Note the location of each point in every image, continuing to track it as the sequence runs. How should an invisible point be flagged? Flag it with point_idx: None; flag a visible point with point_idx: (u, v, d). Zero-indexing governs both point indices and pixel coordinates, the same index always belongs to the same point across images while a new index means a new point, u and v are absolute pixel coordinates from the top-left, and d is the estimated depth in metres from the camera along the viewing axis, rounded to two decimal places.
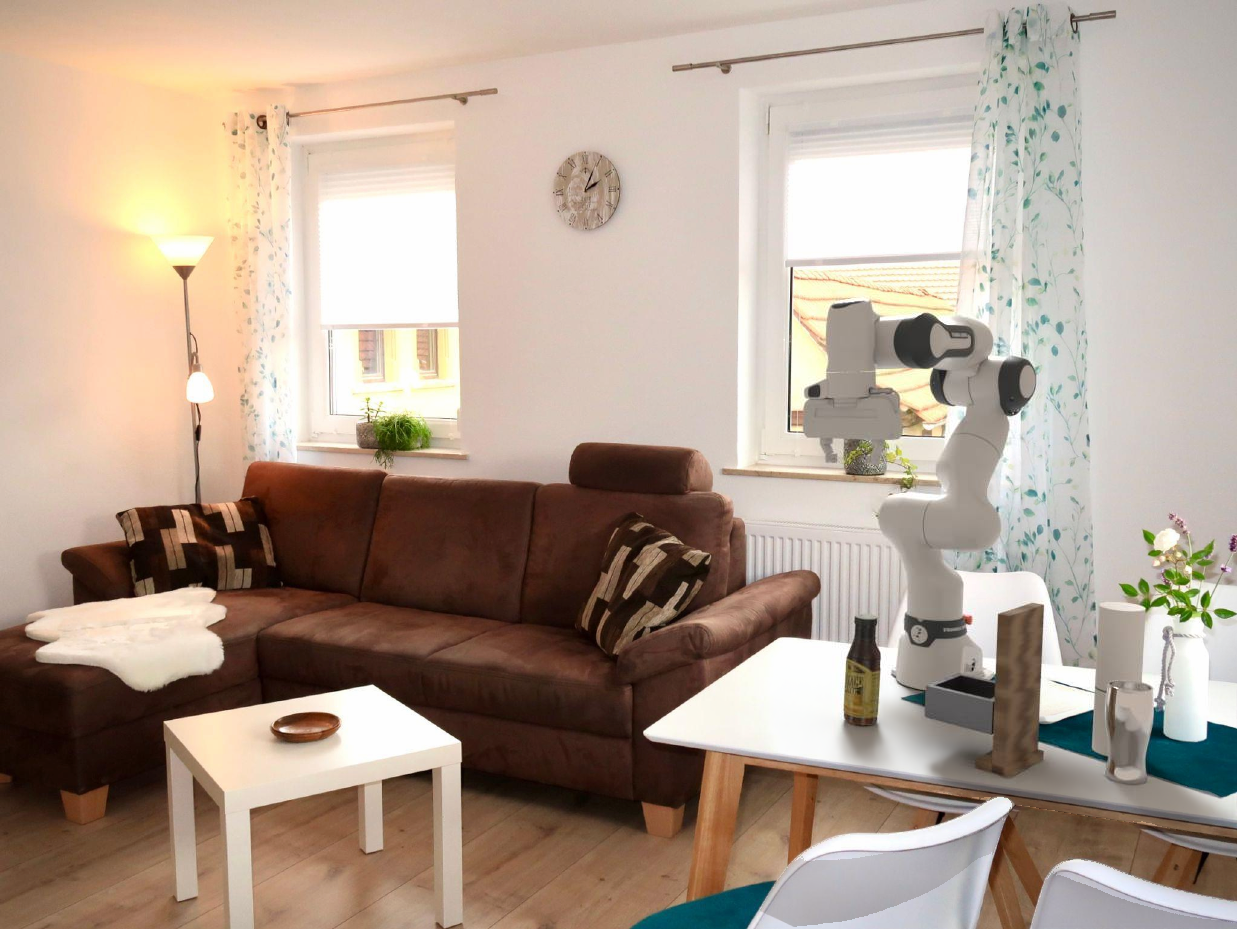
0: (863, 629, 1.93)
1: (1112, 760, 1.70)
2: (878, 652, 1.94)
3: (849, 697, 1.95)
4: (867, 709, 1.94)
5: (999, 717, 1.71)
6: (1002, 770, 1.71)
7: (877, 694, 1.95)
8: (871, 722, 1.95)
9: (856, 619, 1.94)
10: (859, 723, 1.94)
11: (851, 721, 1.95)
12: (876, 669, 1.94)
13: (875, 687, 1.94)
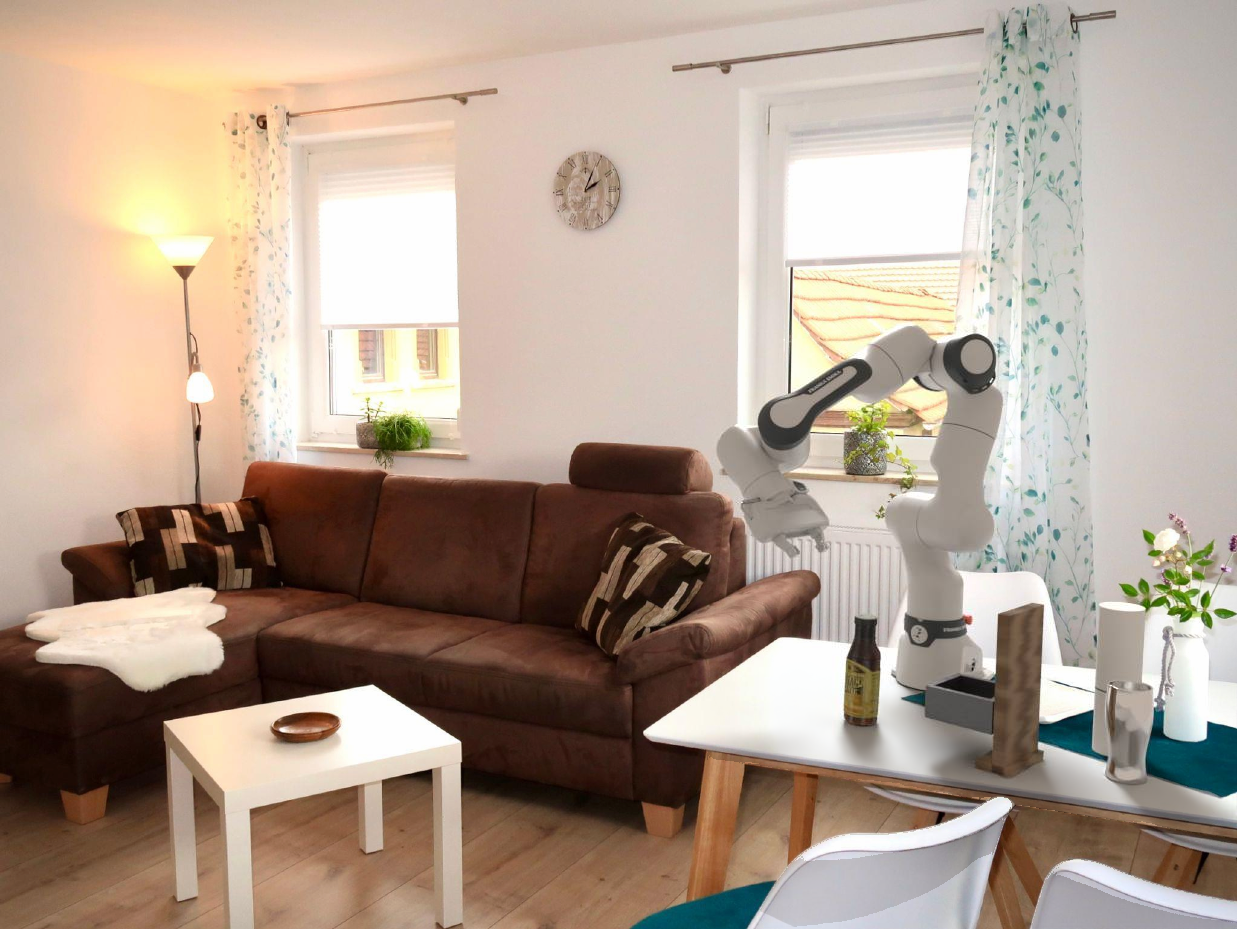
0: (863, 629, 1.93)
1: (1112, 760, 1.70)
2: (878, 652, 1.94)
3: (849, 697, 1.95)
4: (867, 709, 1.94)
5: (999, 717, 1.71)
6: (1002, 770, 1.71)
7: (877, 694, 1.95)
8: (871, 722, 1.95)
9: (856, 619, 1.94)
10: (859, 723, 1.94)
11: (851, 721, 1.95)
12: (876, 669, 1.94)
13: (875, 687, 1.94)
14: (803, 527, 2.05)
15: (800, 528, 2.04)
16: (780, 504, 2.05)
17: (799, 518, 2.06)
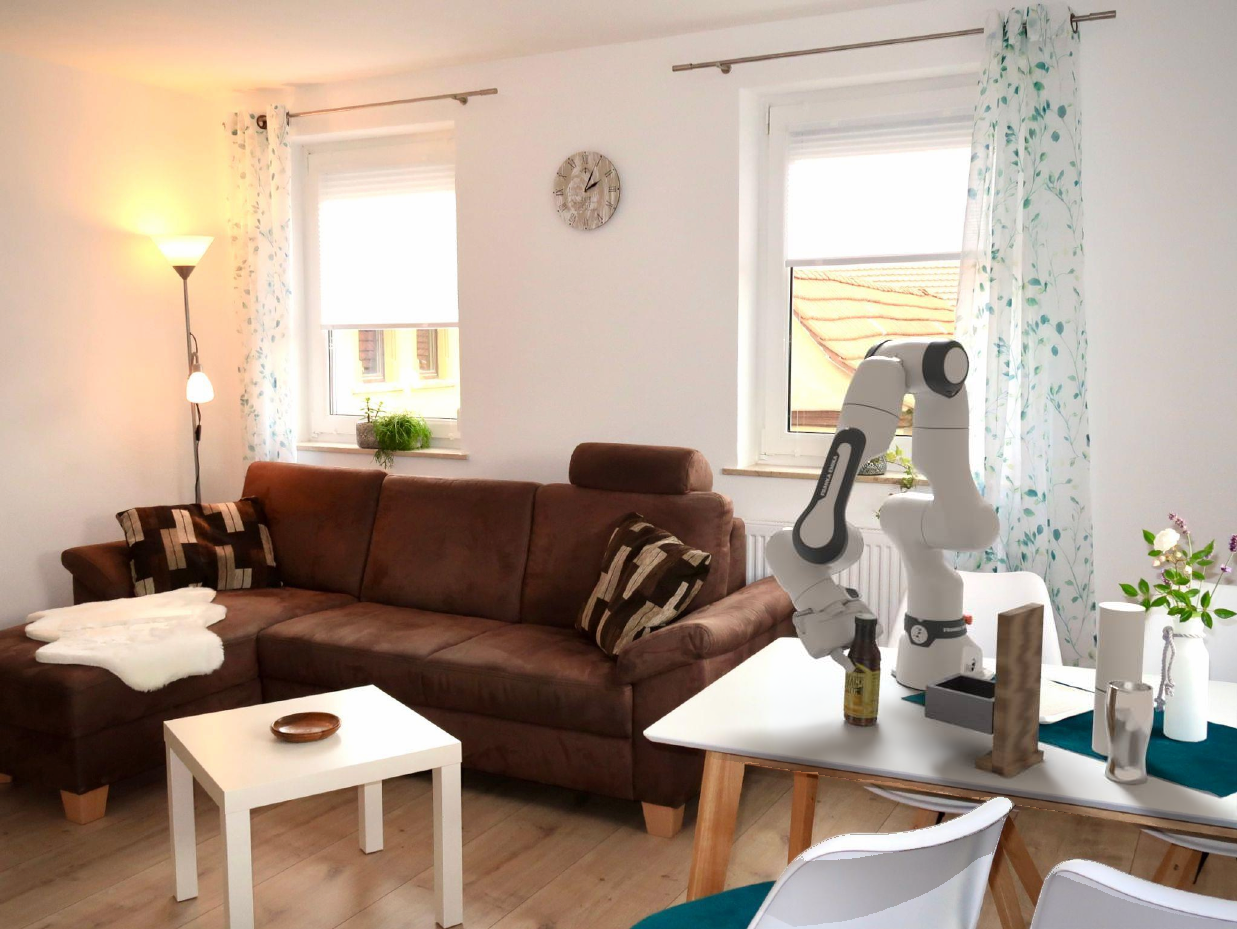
0: (863, 629, 1.93)
1: (1112, 760, 1.70)
2: (878, 652, 1.94)
3: (849, 697, 1.95)
4: (867, 709, 1.94)
5: (999, 717, 1.71)
6: (1002, 770, 1.71)
7: (877, 694, 1.95)
8: (871, 722, 1.95)
9: (856, 619, 1.94)
10: (859, 723, 1.94)
11: (851, 721, 1.95)
12: (876, 669, 1.94)
13: (876, 687, 1.94)
14: None
15: None
16: (833, 615, 1.98)
17: (853, 629, 1.99)
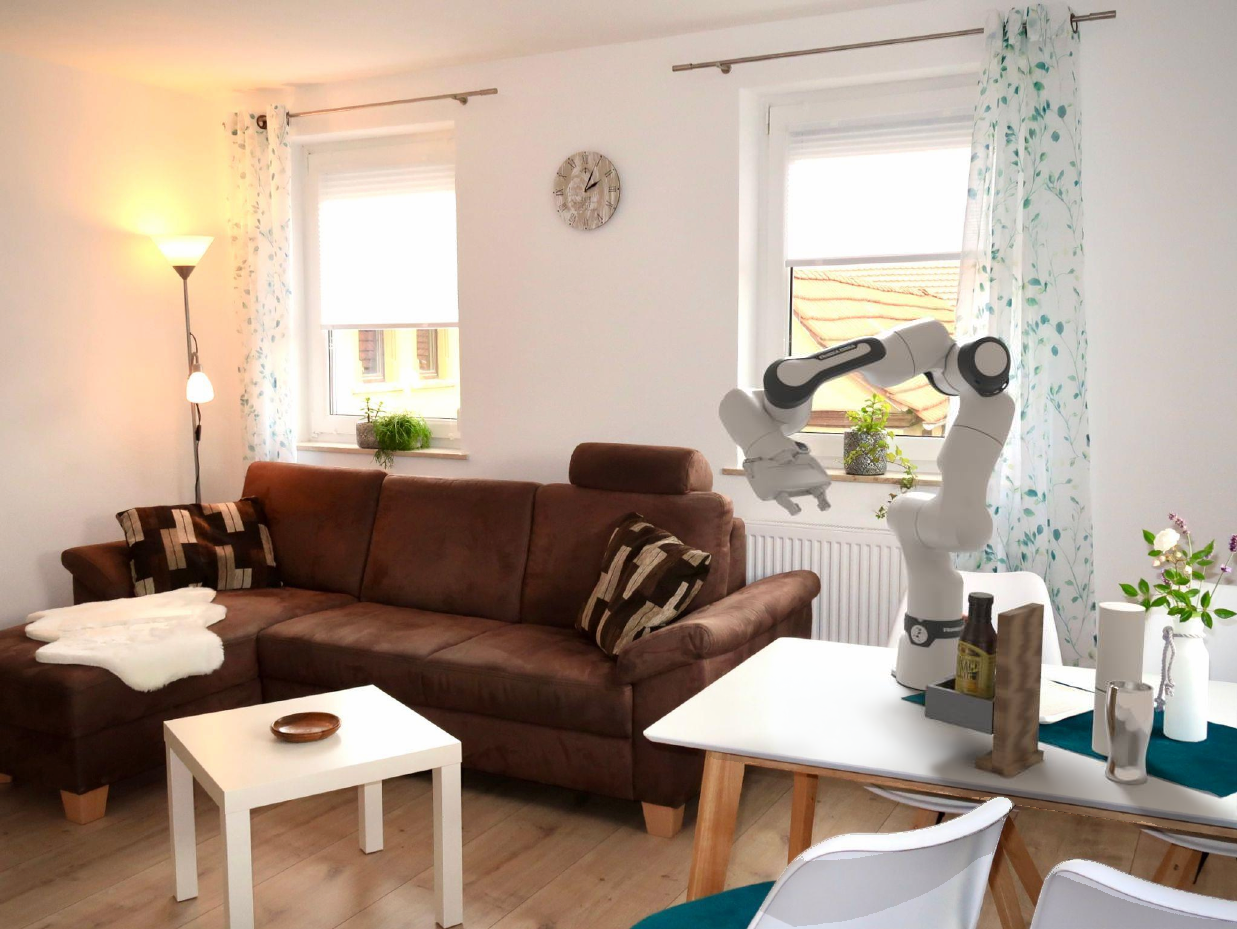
0: (979, 608, 1.77)
1: (1112, 760, 1.70)
2: (995, 633, 1.78)
3: (962, 683, 1.79)
4: (983, 696, 1.77)
5: (999, 717, 1.71)
6: (1002, 770, 1.71)
7: (993, 679, 1.78)
8: None
9: (971, 597, 1.78)
10: None
11: None
12: (993, 652, 1.77)
13: (992, 672, 1.77)
14: (805, 486, 2.06)
15: (802, 487, 2.06)
16: (782, 463, 2.07)
17: (801, 477, 2.07)
